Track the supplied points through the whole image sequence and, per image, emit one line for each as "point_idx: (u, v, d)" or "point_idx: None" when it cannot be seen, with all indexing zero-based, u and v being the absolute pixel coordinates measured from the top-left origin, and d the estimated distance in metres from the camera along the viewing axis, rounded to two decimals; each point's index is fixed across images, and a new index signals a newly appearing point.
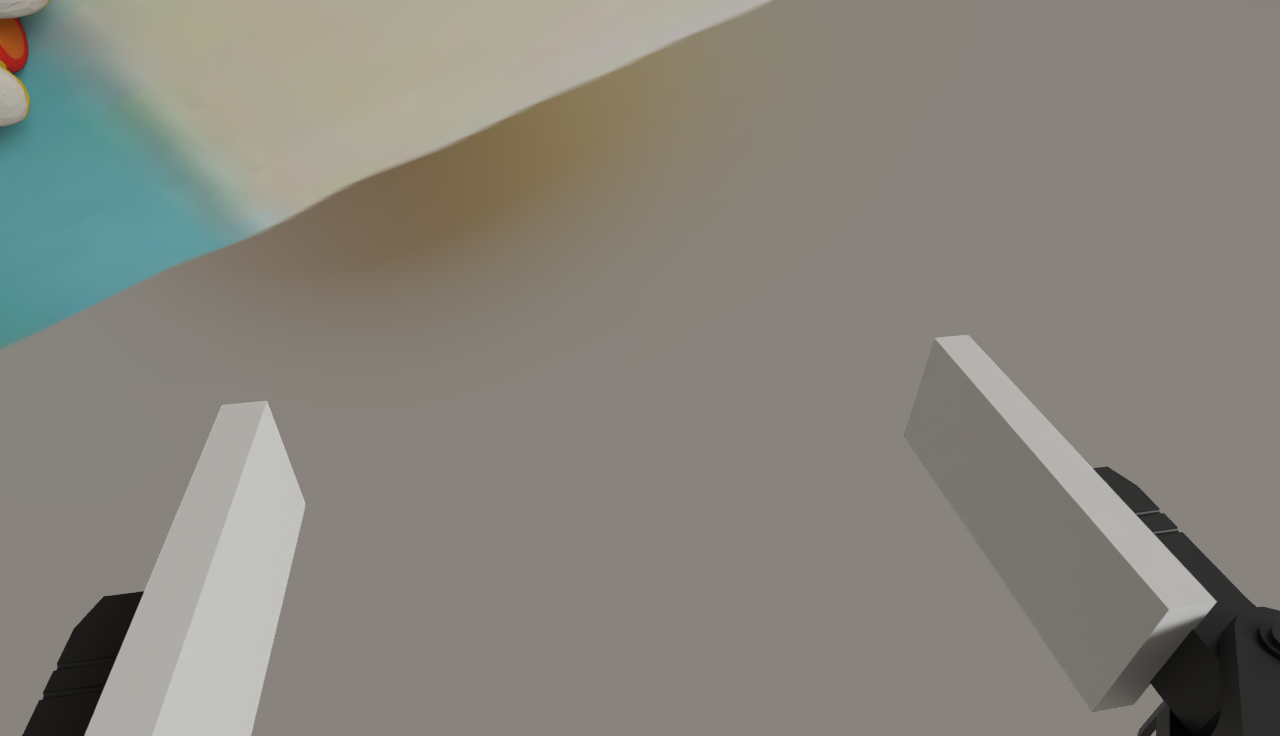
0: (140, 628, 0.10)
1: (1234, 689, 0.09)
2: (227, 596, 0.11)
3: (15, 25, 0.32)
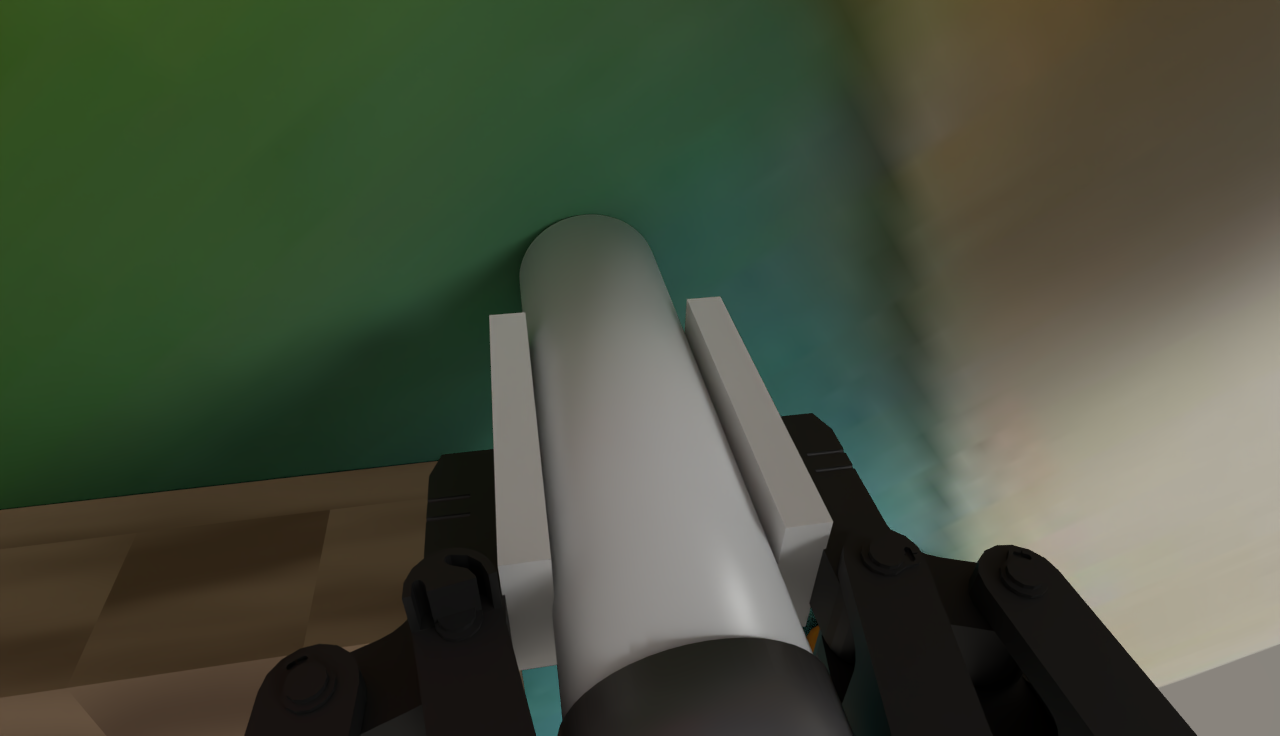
0: (503, 466, 0.12)
1: (858, 622, 0.10)
2: None
3: None
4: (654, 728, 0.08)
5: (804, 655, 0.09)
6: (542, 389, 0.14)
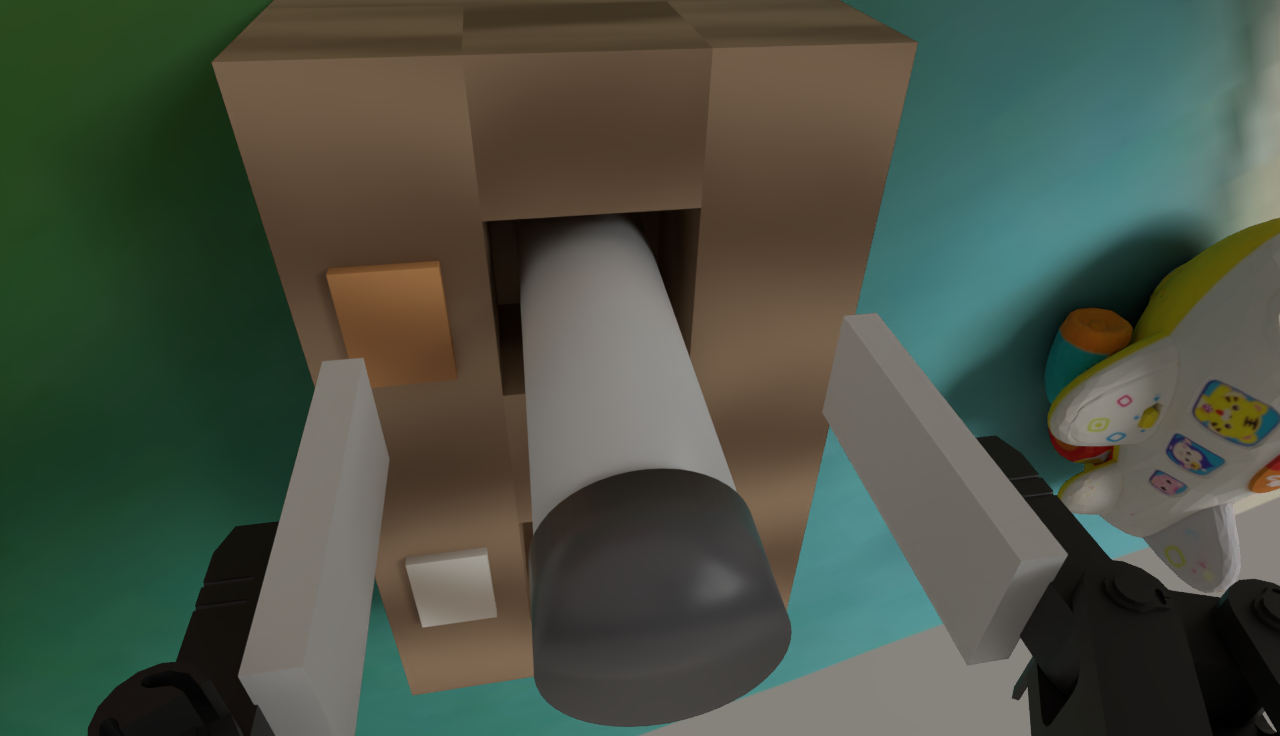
0: (282, 547, 0.11)
1: (1089, 644, 0.10)
2: (346, 527, 0.12)
3: None
4: (598, 525, 0.10)
5: (725, 488, 0.12)
6: (529, 306, 0.17)
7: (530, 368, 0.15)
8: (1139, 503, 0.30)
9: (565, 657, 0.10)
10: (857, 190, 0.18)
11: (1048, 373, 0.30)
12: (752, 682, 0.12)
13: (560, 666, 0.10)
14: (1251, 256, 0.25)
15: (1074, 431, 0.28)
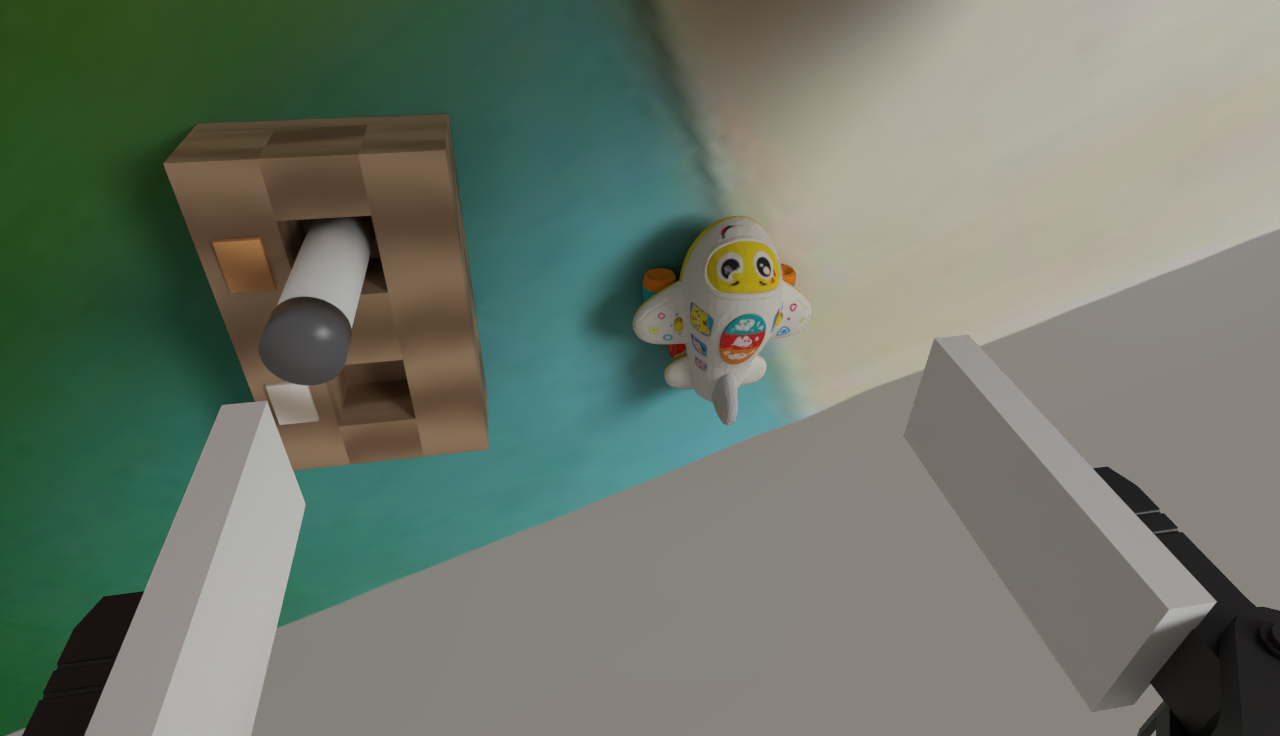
0: (140, 628, 0.10)
1: (1234, 689, 0.09)
2: (227, 596, 0.11)
3: None
4: (279, 310, 0.34)
5: (330, 304, 0.35)
6: None
7: None
8: (697, 377, 0.54)
9: (268, 349, 0.34)
10: (441, 208, 0.42)
11: None
12: (340, 367, 0.36)
13: (267, 353, 0.34)
14: (703, 238, 0.49)
15: (644, 334, 0.52)
